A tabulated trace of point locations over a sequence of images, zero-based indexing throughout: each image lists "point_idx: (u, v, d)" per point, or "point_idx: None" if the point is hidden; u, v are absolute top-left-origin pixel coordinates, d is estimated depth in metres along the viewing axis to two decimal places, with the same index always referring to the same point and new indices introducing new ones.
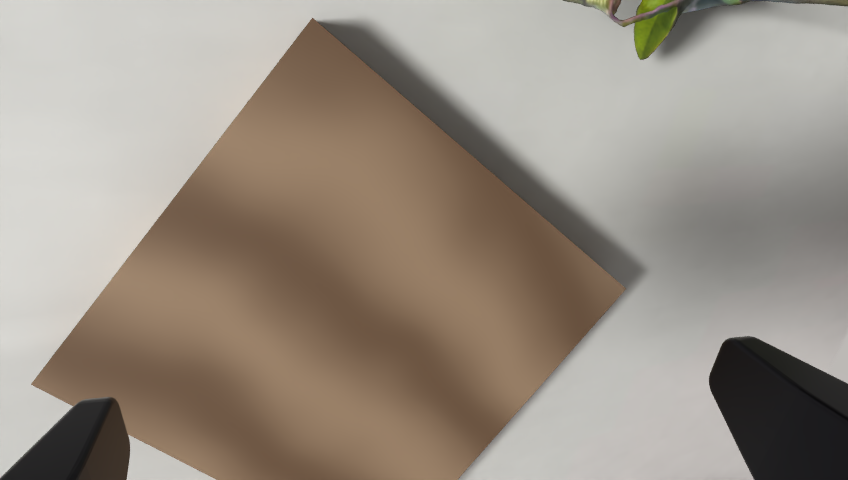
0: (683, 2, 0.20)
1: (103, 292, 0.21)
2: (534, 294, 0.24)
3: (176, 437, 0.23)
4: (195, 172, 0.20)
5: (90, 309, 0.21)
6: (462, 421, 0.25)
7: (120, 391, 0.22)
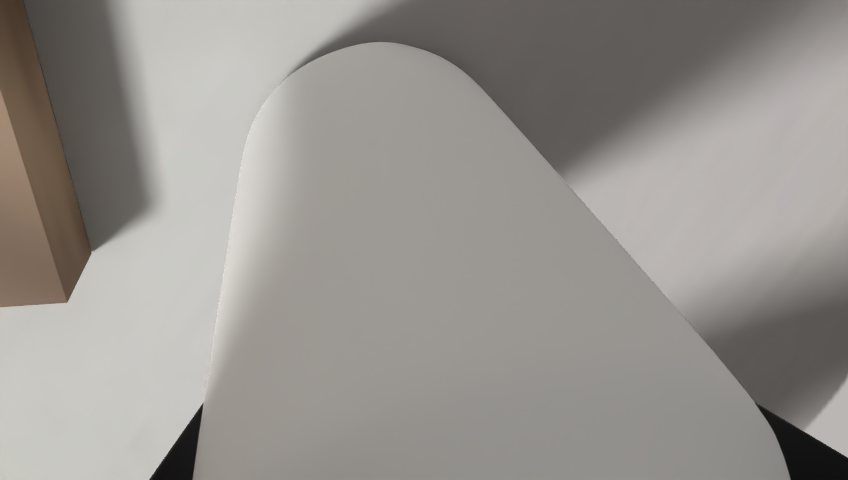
0: None
1: None
2: None
3: None
4: None
5: None
6: None
7: None
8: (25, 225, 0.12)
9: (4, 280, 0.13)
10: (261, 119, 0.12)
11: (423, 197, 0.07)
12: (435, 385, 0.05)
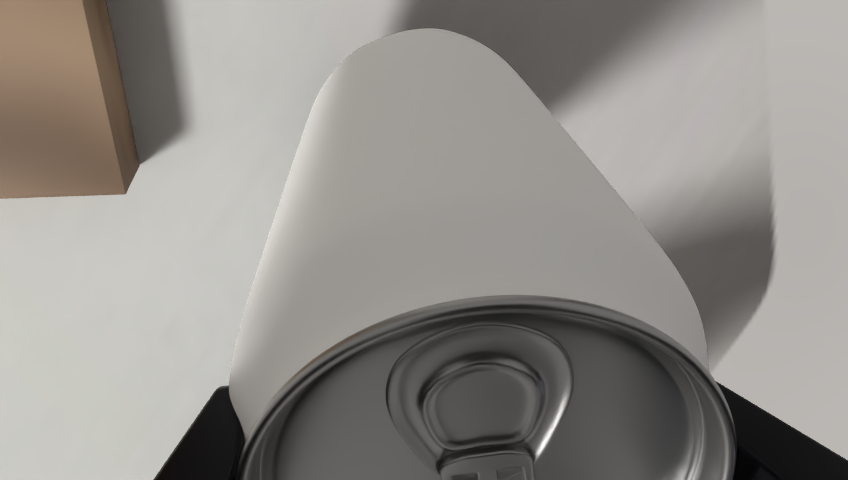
0: None
1: None
2: None
3: None
4: None
5: None
6: None
7: None
8: (98, 130, 0.16)
9: (81, 174, 0.17)
10: (329, 80, 0.15)
11: (448, 113, 0.09)
12: (432, 200, 0.07)
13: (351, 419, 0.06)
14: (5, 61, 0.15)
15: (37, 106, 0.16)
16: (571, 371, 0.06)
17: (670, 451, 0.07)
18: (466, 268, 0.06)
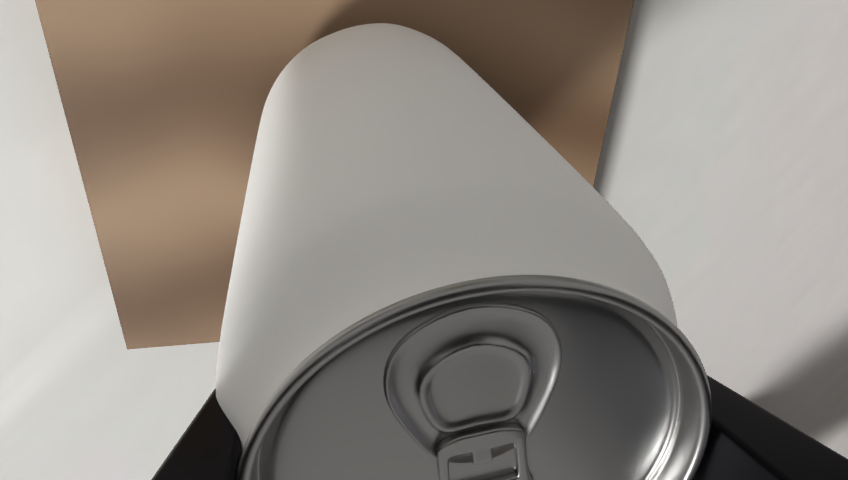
0: None
1: (100, 242, 0.18)
2: None
3: None
4: (55, 67, 0.16)
5: (106, 263, 0.19)
6: (555, 135, 0.20)
7: (200, 312, 0.20)
8: None
9: None
10: (282, 78, 0.15)
11: (415, 105, 0.09)
12: (416, 189, 0.07)
13: (349, 410, 0.07)
14: None
15: None
16: (560, 346, 0.07)
17: (650, 416, 0.07)
18: (457, 252, 0.06)
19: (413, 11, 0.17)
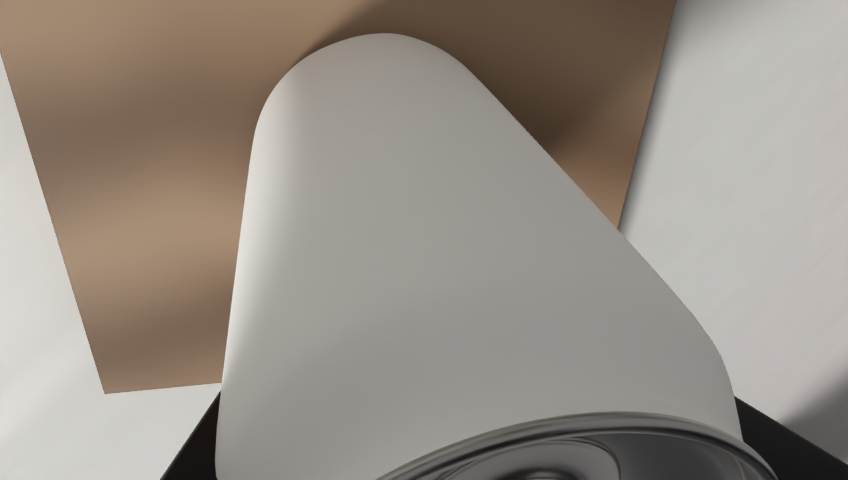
0: None
1: (71, 279, 0.16)
2: None
3: None
4: (13, 86, 0.14)
5: (78, 302, 0.17)
6: (581, 157, 0.17)
7: (185, 353, 0.18)
8: None
9: None
10: (277, 96, 0.13)
11: (435, 155, 0.08)
12: (449, 288, 0.06)
13: None
14: None
15: None
16: (619, 473, 0.06)
17: None
18: (504, 376, 0.05)
19: (426, 20, 0.15)
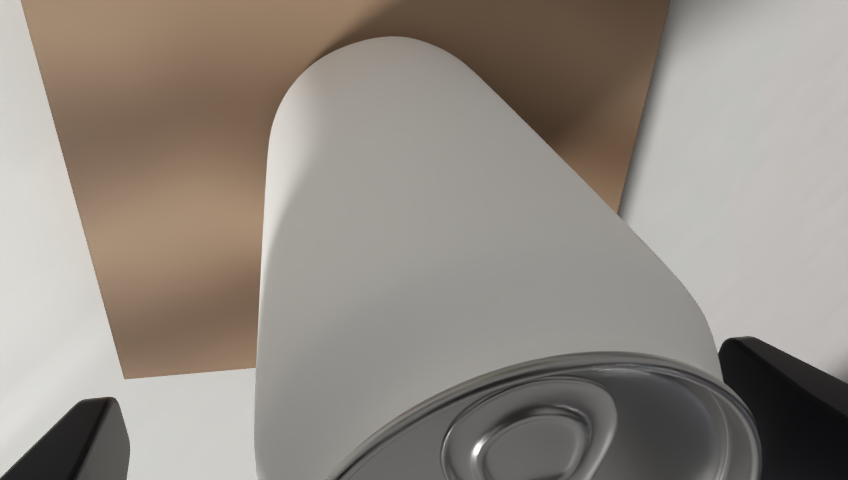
0: None
1: (95, 268, 0.17)
2: None
3: None
4: (46, 85, 0.15)
5: (102, 290, 0.18)
6: (579, 155, 0.18)
7: (201, 340, 0.19)
8: None
9: None
10: (294, 94, 0.14)
11: (450, 144, 0.09)
12: (471, 252, 0.06)
13: (404, 479, 0.06)
14: None
15: None
16: (618, 412, 0.06)
17: (698, 471, 0.07)
18: (519, 324, 0.06)
19: (432, 24, 0.15)
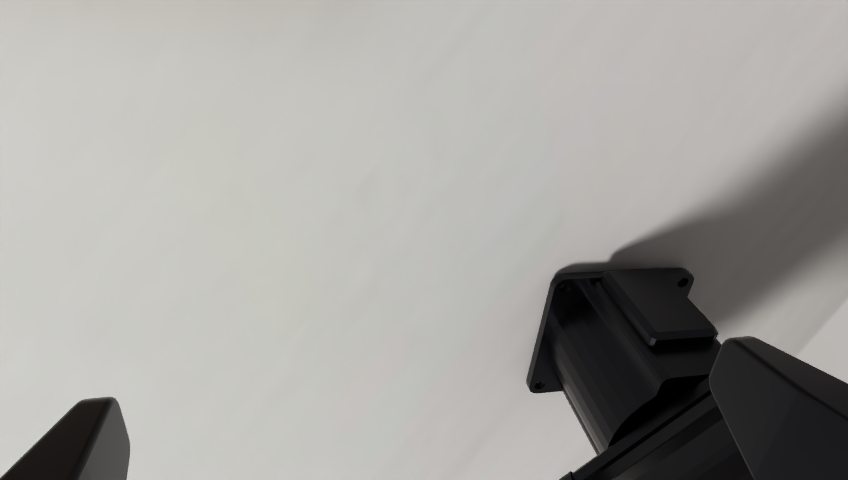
0: None
1: None
2: None
3: None
4: None
5: None
6: None
7: None
8: None
9: None
10: None
11: None
12: None
13: None
14: None
15: None
16: None
17: None
18: None
19: None
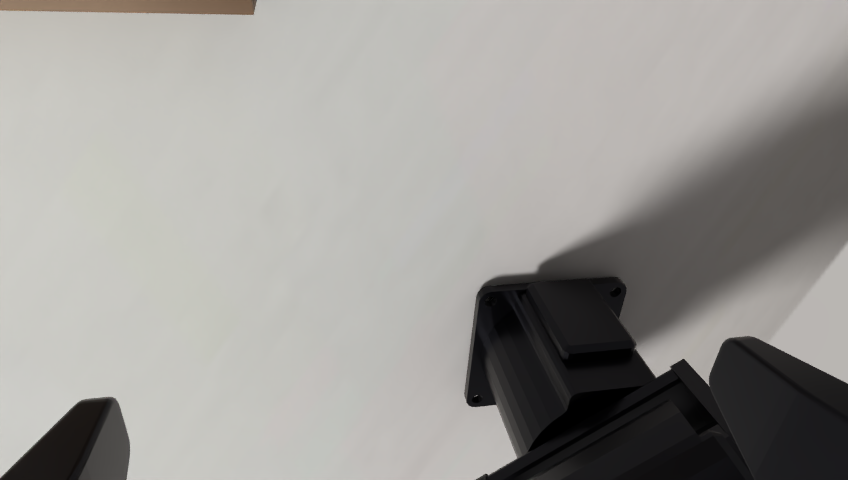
0: None
1: None
2: None
3: None
4: None
5: None
6: None
7: None
8: None
9: None
10: None
11: None
12: None
13: None
14: None
15: None
16: None
17: None
18: None
19: None
